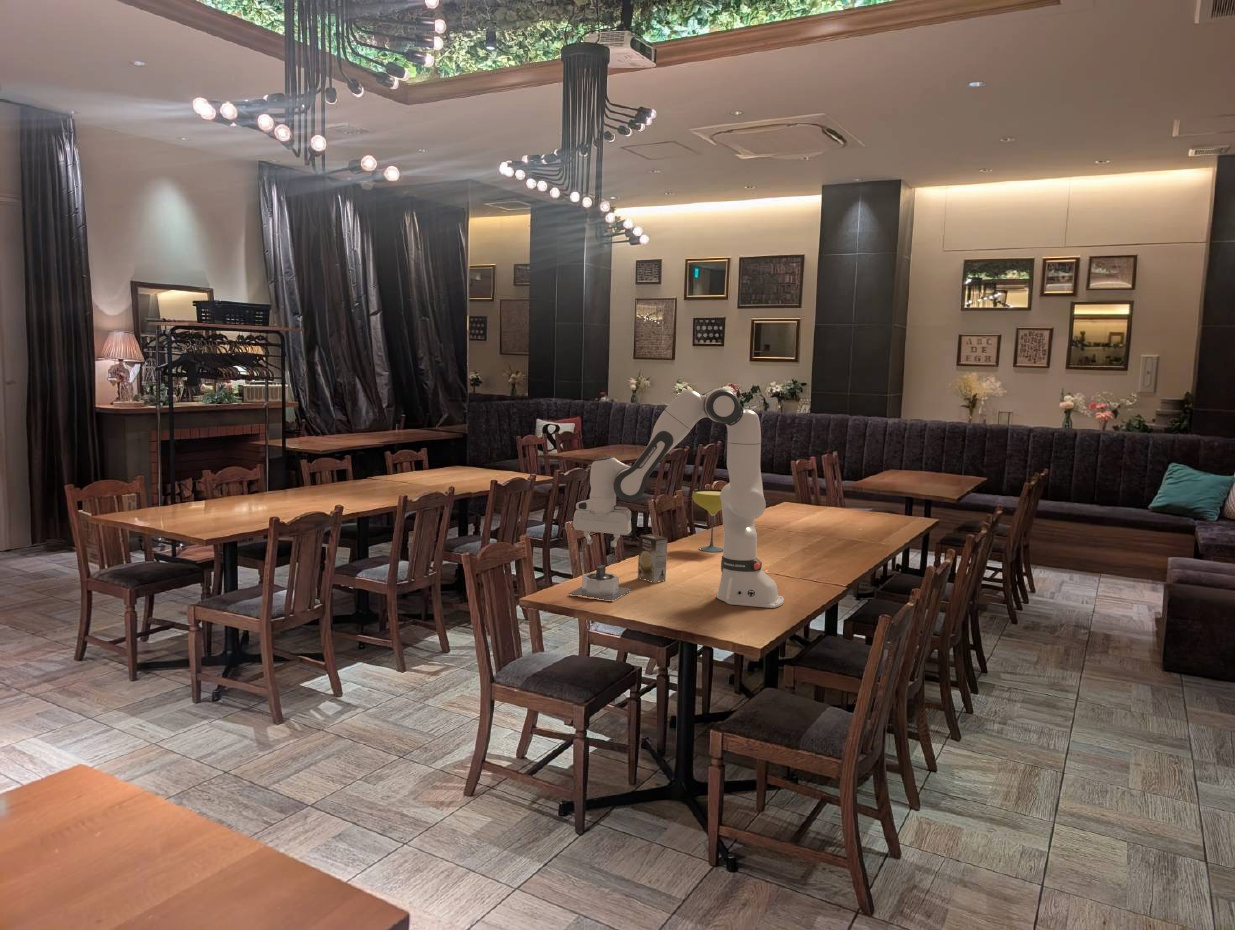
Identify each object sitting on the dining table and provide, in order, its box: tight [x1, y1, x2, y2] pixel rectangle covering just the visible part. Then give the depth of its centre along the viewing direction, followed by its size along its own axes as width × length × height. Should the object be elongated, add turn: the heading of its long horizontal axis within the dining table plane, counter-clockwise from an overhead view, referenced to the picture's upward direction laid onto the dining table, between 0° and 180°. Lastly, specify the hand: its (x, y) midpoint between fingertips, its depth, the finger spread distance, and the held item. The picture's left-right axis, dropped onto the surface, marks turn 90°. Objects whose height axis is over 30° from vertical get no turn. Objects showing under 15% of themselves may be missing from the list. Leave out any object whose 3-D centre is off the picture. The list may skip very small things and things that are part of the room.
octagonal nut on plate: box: [568, 572, 632, 600], centre depth 296 cm, size 16×16×6 cm
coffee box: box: [637, 533, 668, 583], centre depth 318 cm, size 9×6×16 cm
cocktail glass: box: [691, 488, 723, 553], centre depth 375 cm, size 18×18×25 cm
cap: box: [592, 564, 610, 580], centre depth 296 cm, size 6×6×5 cm
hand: (601, 545), depth 295 cm, fingers open, 7 cm apart
